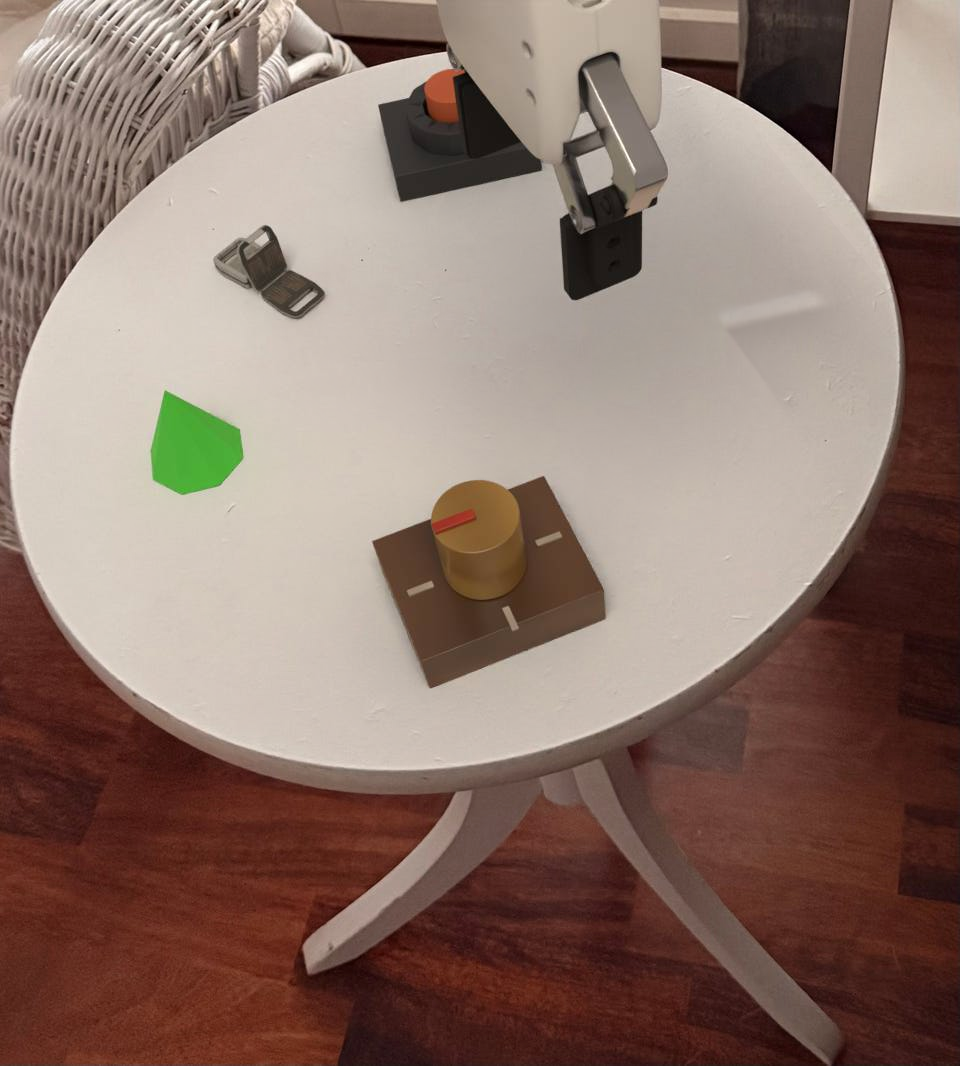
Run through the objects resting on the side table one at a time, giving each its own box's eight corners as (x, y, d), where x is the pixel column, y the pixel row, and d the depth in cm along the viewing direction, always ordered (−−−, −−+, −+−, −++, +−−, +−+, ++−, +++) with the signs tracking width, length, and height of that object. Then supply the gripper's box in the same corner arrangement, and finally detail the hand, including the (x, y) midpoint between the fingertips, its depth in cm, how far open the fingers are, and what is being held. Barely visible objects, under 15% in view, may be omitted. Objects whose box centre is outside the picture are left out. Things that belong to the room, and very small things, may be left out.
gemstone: (262, 459, 74) (235, 394, 69) (175, 511, 73) (140, 449, 68) (217, 399, 77) (187, 333, 73) (131, 449, 76) (95, 385, 71)
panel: (545, 502, 70) (541, 469, 68) (608, 623, 66) (606, 592, 63) (380, 566, 69) (369, 534, 67) (431, 693, 65) (422, 665, 62)
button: (474, 85, 86) (471, 63, 85) (484, 117, 84) (481, 95, 83) (423, 96, 86) (420, 74, 85) (432, 129, 84) (429, 107, 83)
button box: (517, 99, 90) (512, 51, 87) (542, 170, 86) (537, 122, 83) (383, 129, 90) (373, 82, 87) (400, 201, 86) (390, 155, 82)
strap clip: (211, 269, 84) (192, 221, 81) (244, 243, 85) (226, 194, 82) (296, 324, 80) (280, 276, 77) (329, 296, 81) (314, 247, 78)
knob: (508, 517, 66) (499, 463, 62) (540, 581, 64) (532, 529, 60) (431, 547, 66) (417, 494, 62) (460, 612, 63) (447, 562, 59)
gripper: (778, -132, 34) (735, 309, 48) (506, -353, 43) (537, 71, 57) (530, -42, 33) (561, 383, 47) (306, -289, 42) (388, 127, 56)
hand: (548, 211), depth 52 cm, fingers open, 9 cm apart
